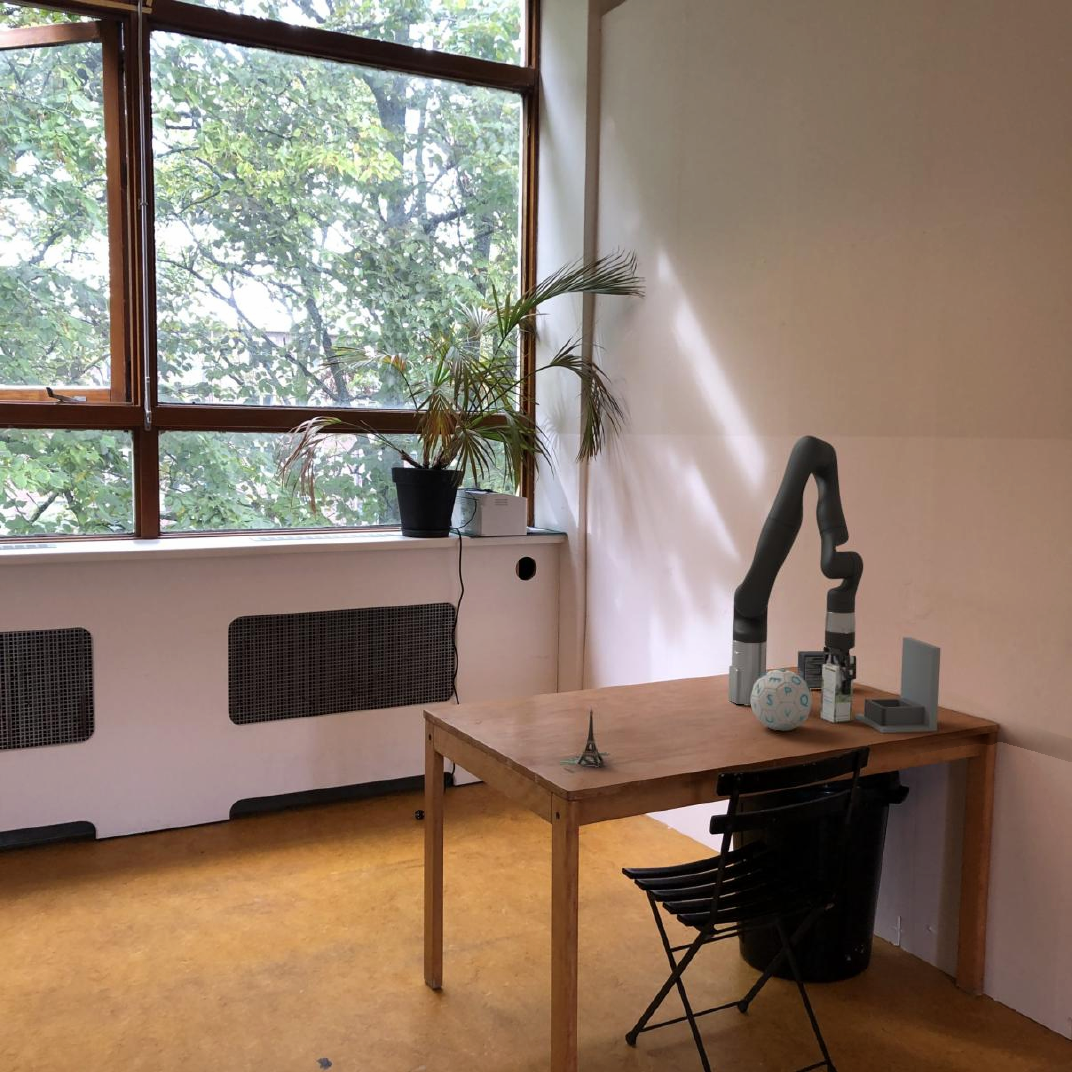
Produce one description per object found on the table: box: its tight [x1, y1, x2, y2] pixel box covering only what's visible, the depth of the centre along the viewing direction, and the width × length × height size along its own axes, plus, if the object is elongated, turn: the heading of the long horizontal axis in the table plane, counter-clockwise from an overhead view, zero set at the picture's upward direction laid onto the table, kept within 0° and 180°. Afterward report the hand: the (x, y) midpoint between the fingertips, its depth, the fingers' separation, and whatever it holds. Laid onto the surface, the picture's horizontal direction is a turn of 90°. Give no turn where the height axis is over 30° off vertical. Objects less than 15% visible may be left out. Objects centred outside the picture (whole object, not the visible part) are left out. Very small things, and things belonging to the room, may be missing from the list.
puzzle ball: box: [750, 669, 813, 732], centre depth 272 cm, size 15×15×15 cm
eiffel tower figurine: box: [557, 705, 611, 773], centre depth 242 cm, size 15×10×13 cm
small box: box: [797, 650, 827, 688], centre depth 319 cm, size 11×6×10 cm, turn 94°
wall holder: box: [854, 636, 941, 734], centre depth 278 cm, size 14×15×21 cm
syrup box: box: [819, 663, 854, 724], centre depth 282 cm, size 6×6×14 cm
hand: (838, 690), depth 282 cm, fingers open, 8 cm apart
